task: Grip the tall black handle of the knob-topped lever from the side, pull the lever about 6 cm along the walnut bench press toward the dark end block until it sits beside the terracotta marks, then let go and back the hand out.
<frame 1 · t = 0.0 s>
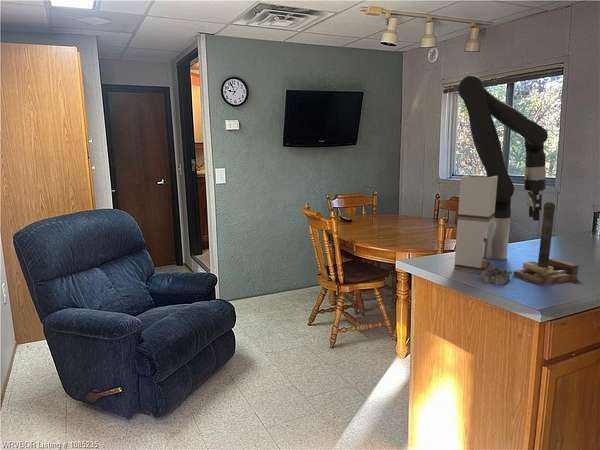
hand: (533, 218, 181), 17 cm above the table, tool pointing down, fingers open, 8 cm apart
knob-topped lever: (541, 236, 156), point 15 cm above the table, slide at 0.0 cm
display case: (472, 268, 172), on the table
egg carton: (495, 280, 157), on the table
press base: (544, 277, 160), on the table
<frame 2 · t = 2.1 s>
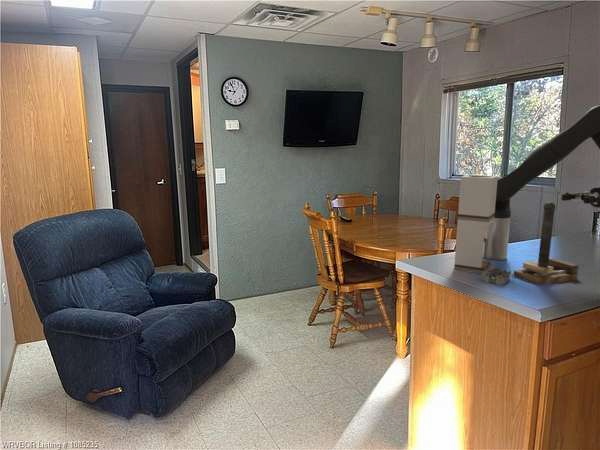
hand: (573, 198, 155), 28 cm above the table, tool horizontal, fingers open, 8 cm apart
nothing on the table moved.
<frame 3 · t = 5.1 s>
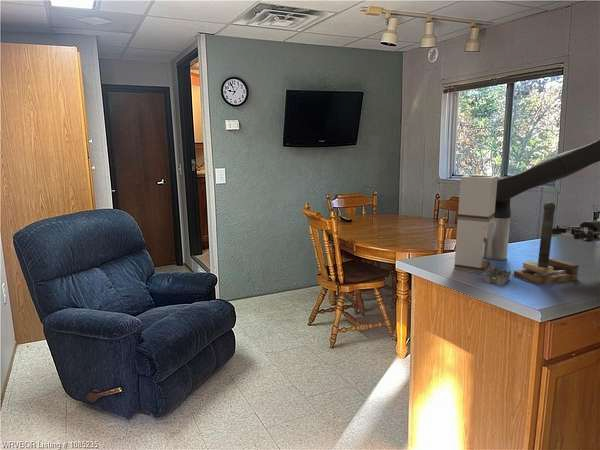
hand: (563, 233, 157), 16 cm above the table, tool horizontal, fingers open, 8 cm apart
nothing on the table moved.
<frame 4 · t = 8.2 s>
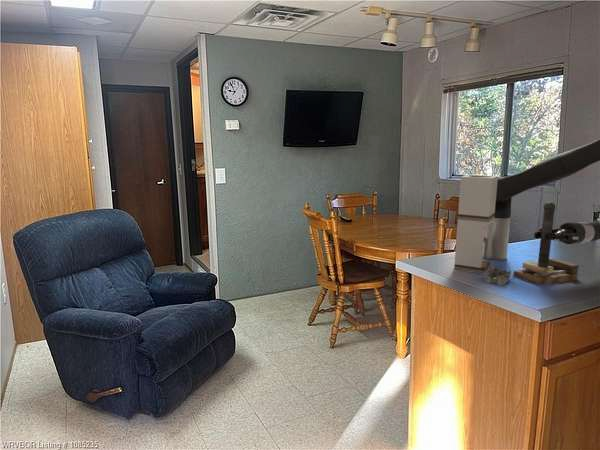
hand: (540, 236, 153), 16 cm above the table, tool horizontal, fingers closed on knob-topped lever, 3 cm apart
knob-topped lever: (541, 236, 156), point 15 cm above the table, slide at 0.0 cm, touching gripper
everything else where it was.
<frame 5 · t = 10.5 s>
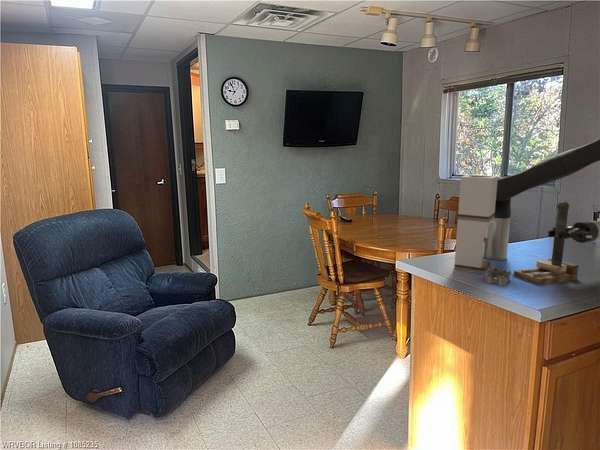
hand: (554, 234, 155), 16 cm above the table, tool horizontal, fingers closed on knob-topped lever, 3 cm apart
knob-topped lever: (554, 235, 158), point 15 cm above the table, slide at 6.4 cm, touching gripper
everything else where it was.
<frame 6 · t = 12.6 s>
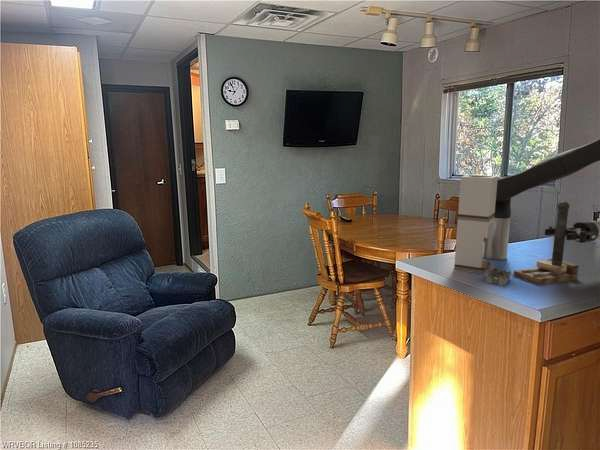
hand: (556, 234, 155), 16 cm above the table, tool horizontal, fingers open, 8 cm apart
knob-topped lever: (554, 235, 158), point 15 cm above the table, slide at 6.5 cm
everything else where it was.
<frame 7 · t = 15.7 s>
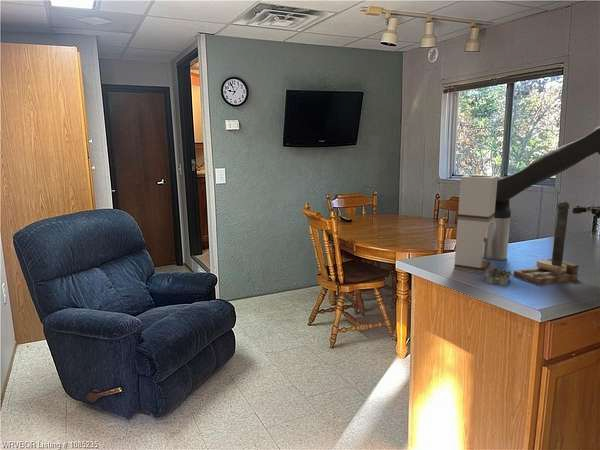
hand: (584, 212, 159), 23 cm above the table, tool horizontal, fingers open, 8 cm apart
nothing on the table moved.
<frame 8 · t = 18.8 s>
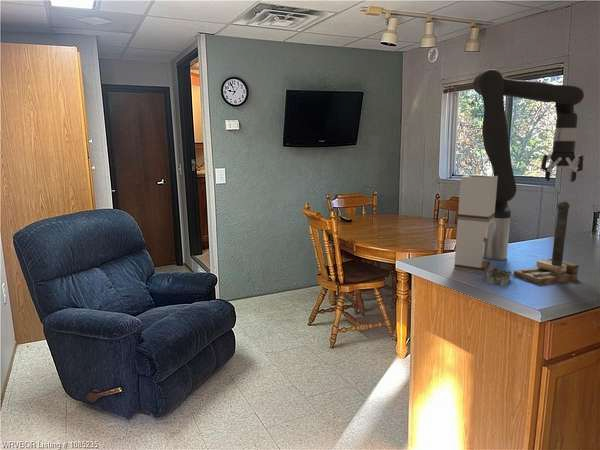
hand: (559, 181, 179), 32 cm above the table, tool pointing down, fingers open, 8 cm apart
nothing on the table moved.
at the end: knob-topped lever slide at 6.5 cm; the gripper is holding nothing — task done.
